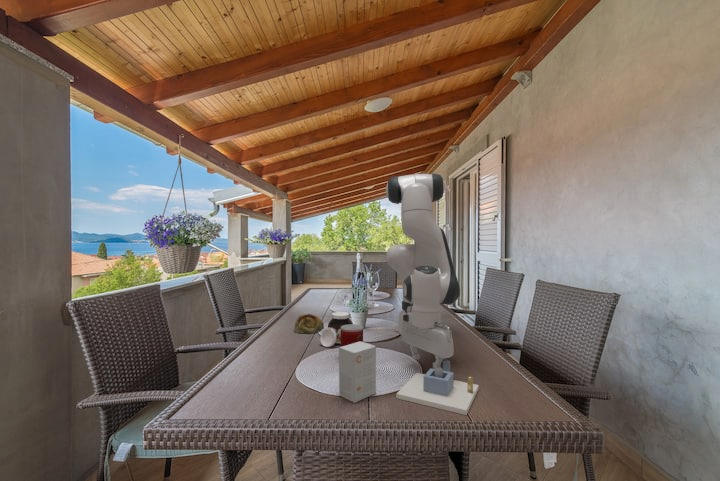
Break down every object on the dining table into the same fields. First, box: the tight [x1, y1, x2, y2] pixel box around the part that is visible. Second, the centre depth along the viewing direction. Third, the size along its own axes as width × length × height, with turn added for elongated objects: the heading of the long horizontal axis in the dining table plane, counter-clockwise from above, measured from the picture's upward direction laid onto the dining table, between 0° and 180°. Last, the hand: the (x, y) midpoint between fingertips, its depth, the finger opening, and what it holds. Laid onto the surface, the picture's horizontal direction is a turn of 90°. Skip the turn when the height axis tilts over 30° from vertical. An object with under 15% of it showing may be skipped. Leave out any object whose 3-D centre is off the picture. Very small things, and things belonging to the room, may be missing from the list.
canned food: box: [339, 323, 364, 347], centre depth 121 cm, size 8×8×11 cm
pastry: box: [293, 313, 325, 334], centre depth 157 cm, size 14×12×8 cm
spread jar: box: [320, 311, 354, 348], centre depth 137 cm, size 12×11×12 cm
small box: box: [338, 341, 377, 404], centre depth 94 cm, size 8×6×13 cm
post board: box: [396, 367, 479, 416], centre depth 94 cm, size 16×18×7 cm
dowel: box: [467, 375, 474, 393], centre depth 93 cm, size 1×1×4 cm
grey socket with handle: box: [423, 359, 454, 396], centre depth 97 cm, size 12×6×5 cm, turn 151°
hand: (425, 363), depth 108 cm, fingers open, 8 cm apart
